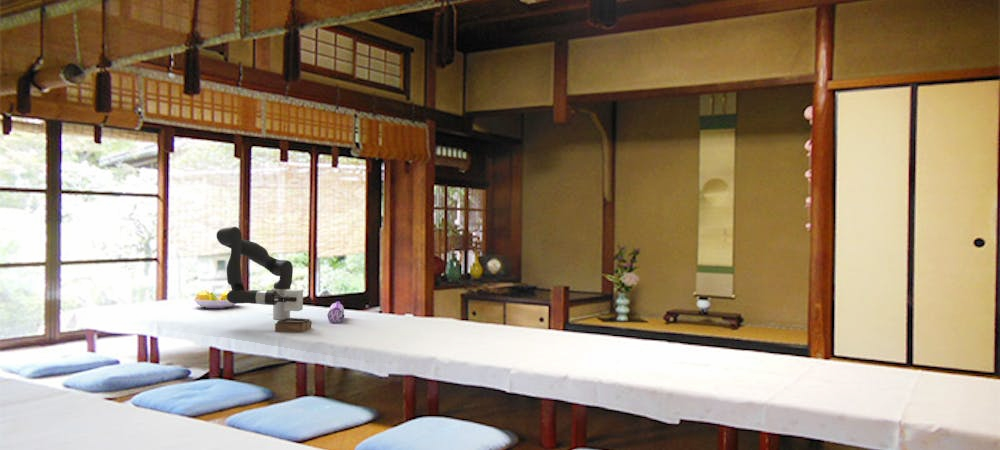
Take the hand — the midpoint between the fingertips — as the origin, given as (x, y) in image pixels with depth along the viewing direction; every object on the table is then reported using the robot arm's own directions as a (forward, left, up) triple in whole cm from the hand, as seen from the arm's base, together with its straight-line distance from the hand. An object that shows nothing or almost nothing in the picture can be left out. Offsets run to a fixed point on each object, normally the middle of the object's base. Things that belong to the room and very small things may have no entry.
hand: (298, 298), depth 365 cm
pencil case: (-35, +9, -17) cm, 40 cm away
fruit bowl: (-69, -77, -16) cm, 105 cm away
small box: (0, -3, -6) cm, 7 cm away
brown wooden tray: (0, -2, -16) cm, 16 cm away
